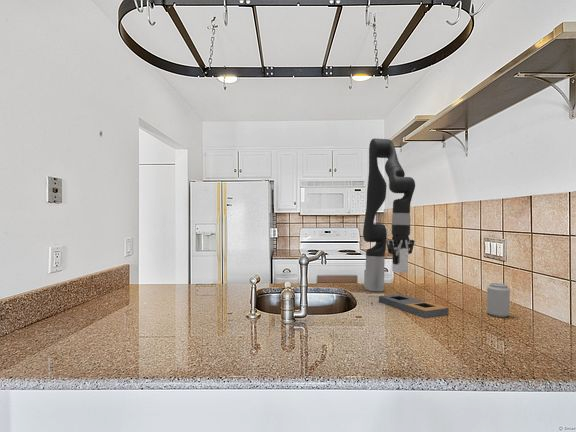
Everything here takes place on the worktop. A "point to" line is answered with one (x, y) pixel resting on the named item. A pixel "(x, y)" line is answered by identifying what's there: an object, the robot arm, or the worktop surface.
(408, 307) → the grey peg board
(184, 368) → the worktop surface
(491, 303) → the can
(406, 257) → the peg
